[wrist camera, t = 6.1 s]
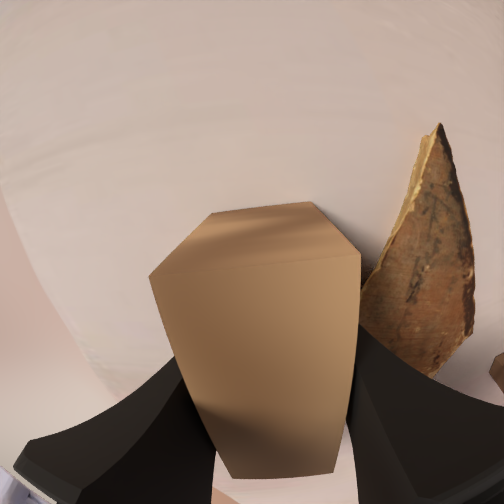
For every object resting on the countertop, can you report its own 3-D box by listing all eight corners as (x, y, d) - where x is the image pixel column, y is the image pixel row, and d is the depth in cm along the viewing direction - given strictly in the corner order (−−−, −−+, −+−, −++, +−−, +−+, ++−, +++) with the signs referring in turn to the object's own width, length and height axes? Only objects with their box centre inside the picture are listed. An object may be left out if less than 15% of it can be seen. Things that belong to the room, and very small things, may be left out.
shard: (420, 124, 8) (444, 120, 6) (515, 211, 9) (537, 219, 7) (307, 347, 12) (311, 374, 10) (417, 377, 12) (428, 398, 11)
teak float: (310, 201, 9) (360, 253, 4) (317, 373, 12) (333, 472, 7) (211, 213, 10) (148, 276, 4) (244, 379, 12) (232, 478, 7)
